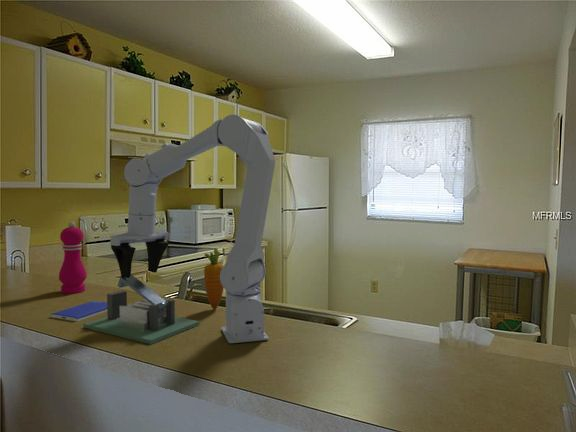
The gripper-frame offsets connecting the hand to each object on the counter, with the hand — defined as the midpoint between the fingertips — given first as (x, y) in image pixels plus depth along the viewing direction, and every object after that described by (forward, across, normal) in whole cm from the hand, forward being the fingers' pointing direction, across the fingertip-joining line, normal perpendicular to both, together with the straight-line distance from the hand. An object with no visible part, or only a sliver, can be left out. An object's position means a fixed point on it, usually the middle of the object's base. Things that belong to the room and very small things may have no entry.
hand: (139, 274), depth 100 cm
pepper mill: (+13, -9, -37) cm, 41 cm away
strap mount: (+10, +3, +4) cm, 11 cm away
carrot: (+10, -16, +9) cm, 21 cm away
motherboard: (+10, +3, +4) cm, 12 cm away
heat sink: (+9, +3, +5) cm, 11 cm away
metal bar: (+4, +3, +4) cm, 7 cm away
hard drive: (+12, +2, -15) cm, 20 cm away
